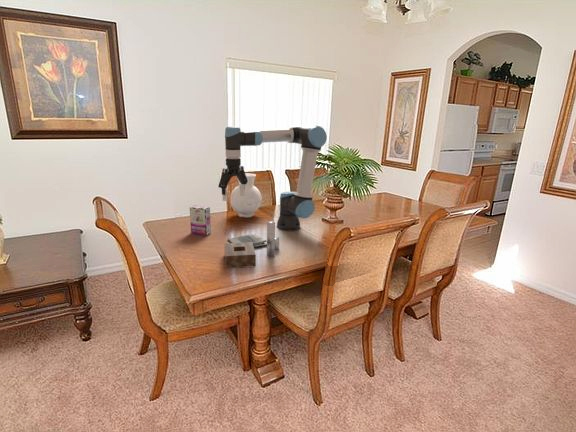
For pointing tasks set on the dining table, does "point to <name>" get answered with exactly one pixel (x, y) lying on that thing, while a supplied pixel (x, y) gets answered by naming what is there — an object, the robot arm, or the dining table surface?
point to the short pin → (276, 243)
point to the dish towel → (249, 240)
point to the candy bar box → (200, 220)
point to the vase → (246, 198)
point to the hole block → (239, 255)
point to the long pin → (270, 239)
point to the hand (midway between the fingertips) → (234, 198)
